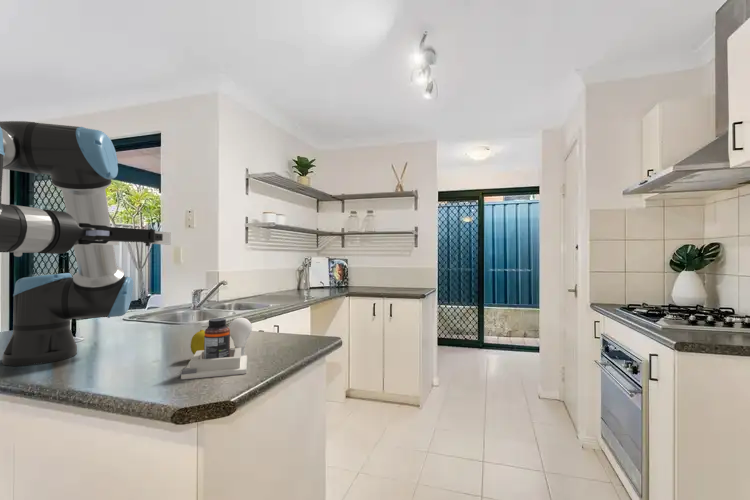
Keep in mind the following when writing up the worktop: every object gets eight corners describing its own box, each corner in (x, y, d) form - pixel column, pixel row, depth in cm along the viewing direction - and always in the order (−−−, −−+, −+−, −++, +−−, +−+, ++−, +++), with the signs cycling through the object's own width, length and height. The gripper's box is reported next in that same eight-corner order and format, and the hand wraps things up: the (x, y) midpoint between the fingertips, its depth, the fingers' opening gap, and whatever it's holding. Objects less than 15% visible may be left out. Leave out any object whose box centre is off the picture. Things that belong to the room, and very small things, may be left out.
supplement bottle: (216, 360, 95) (216, 316, 95) (234, 362, 93) (235, 318, 93) (198, 366, 89) (199, 320, 90) (217, 368, 87) (218, 321, 88)
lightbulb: (243, 360, 99) (244, 319, 99) (222, 358, 100) (223, 319, 100) (255, 354, 105) (256, 316, 105) (236, 353, 106) (236, 315, 106)
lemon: (195, 356, 103) (195, 328, 103) (215, 355, 103) (215, 327, 103) (186, 361, 97) (187, 331, 97) (208, 361, 98) (208, 331, 98)
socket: (191, 363, 96) (191, 349, 96) (247, 358, 100) (247, 346, 100) (181, 379, 82) (181, 364, 82) (246, 373, 87) (246, 358, 87)
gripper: (-19, 253, 63) (96, 255, 84) (99, 253, 58) (191, 255, 79) (-18, 210, 63) (97, 223, 84) (100, 206, 58) (191, 221, 79)
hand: (143, 238), depth 82 cm, fingers open, 13 cm apart
